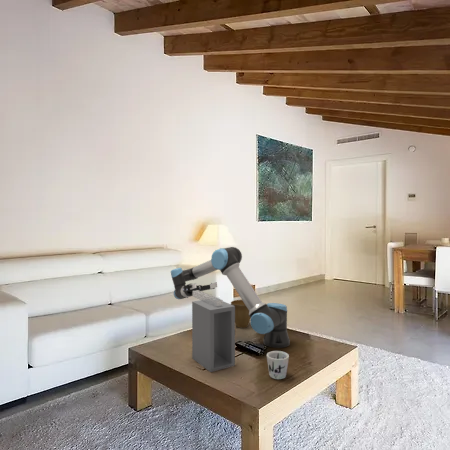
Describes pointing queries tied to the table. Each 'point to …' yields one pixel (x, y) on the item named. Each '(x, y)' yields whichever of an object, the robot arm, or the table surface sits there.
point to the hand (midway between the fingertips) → (206, 285)
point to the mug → (277, 364)
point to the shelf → (213, 335)
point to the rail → (208, 298)
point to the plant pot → (241, 314)
